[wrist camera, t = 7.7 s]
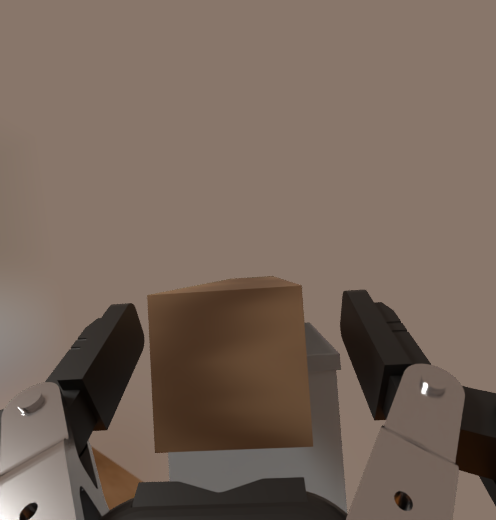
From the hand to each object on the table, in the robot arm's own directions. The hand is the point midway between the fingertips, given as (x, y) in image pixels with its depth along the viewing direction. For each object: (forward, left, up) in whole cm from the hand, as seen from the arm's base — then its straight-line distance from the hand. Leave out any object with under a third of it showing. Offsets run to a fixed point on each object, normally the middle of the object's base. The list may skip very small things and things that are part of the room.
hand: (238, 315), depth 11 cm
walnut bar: (+3, +5, -3) cm, 7 cm away
